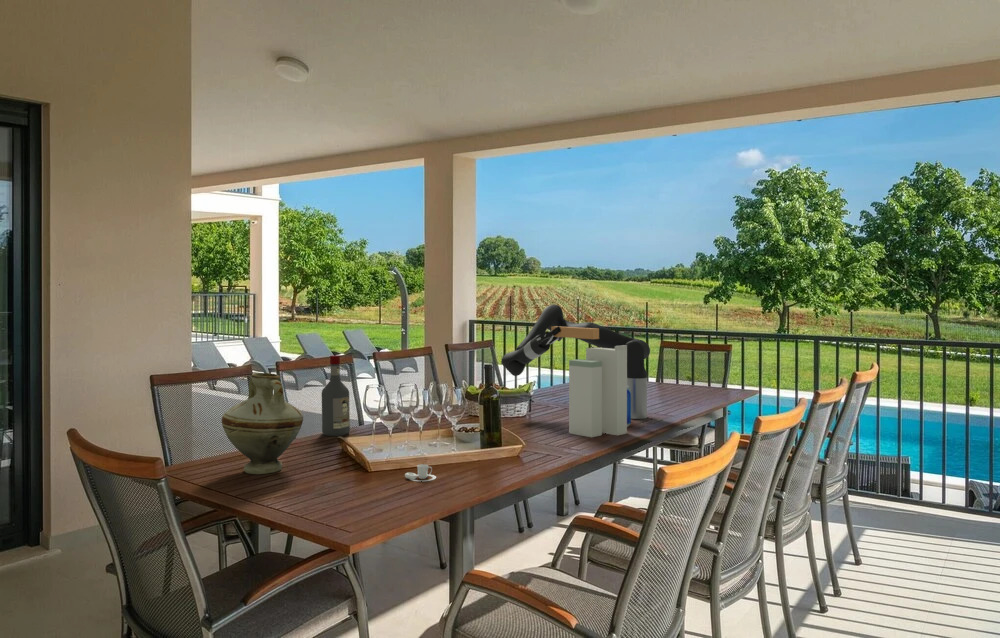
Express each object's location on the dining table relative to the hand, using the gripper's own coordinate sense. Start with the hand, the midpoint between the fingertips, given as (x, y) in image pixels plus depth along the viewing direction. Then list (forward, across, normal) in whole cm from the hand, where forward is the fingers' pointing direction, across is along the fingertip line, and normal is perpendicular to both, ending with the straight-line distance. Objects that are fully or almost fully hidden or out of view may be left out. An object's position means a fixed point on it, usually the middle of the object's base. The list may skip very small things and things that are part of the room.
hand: (563, 328), depth 292 cm
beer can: (-4, +15, +43) cm, 46 cm away
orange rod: (+4, 0, +6) cm, 7 cm away
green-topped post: (-3, -8, +43) cm, 44 cm away
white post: (-1, +1, +45) cm, 45 cm away
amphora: (-32, -121, +27) cm, 128 cm away
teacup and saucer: (+1, -91, +46) cm, 102 cm away
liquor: (-62, -76, +10) cm, 98 cm away
